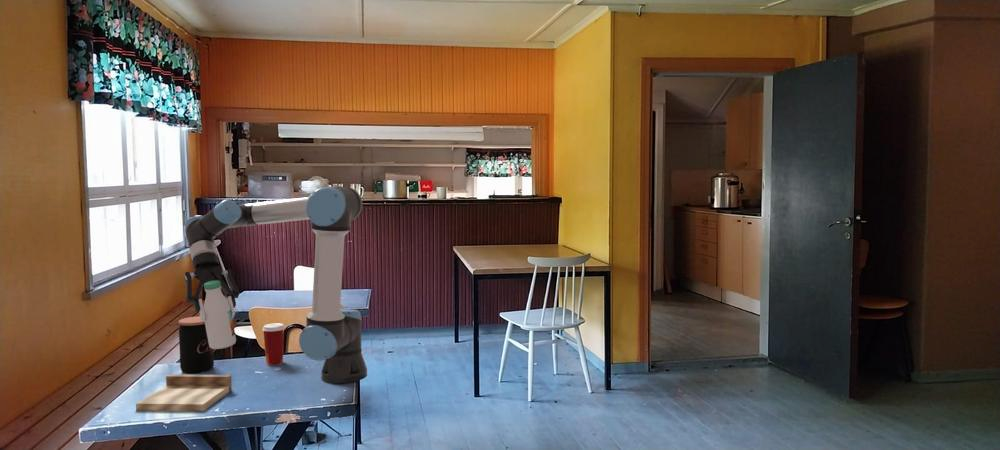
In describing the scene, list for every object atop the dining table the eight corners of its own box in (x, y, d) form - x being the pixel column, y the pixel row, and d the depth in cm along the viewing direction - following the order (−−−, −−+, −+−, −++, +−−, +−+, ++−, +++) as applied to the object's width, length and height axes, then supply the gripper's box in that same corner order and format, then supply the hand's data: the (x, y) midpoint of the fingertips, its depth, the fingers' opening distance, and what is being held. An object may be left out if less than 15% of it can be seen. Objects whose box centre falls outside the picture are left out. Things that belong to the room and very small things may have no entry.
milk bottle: (229, 348, 192) (218, 285, 188) (204, 350, 193) (192, 287, 189) (240, 339, 200) (230, 277, 196) (216, 340, 200) (205, 279, 196)
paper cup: (290, 361, 235) (289, 324, 234) (274, 367, 229) (273, 328, 227) (274, 359, 239) (273, 322, 238) (258, 364, 232) (257, 326, 231)
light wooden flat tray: (231, 390, 204) (231, 374, 203) (203, 411, 186) (202, 394, 186) (170, 389, 205) (169, 374, 204) (136, 410, 187) (135, 393, 186)
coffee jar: (200, 375, 219) (198, 323, 218) (173, 373, 221) (171, 322, 220) (220, 366, 230) (218, 316, 228) (194, 364, 232) (192, 315, 231)
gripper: (236, 263, 213) (251, 320, 202) (167, 267, 201) (179, 329, 189) (240, 249, 208) (256, 306, 197) (170, 252, 196) (182, 314, 185)
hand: (218, 317), depth 193 cm, fingers closed on milk bottle, 8 cm apart
